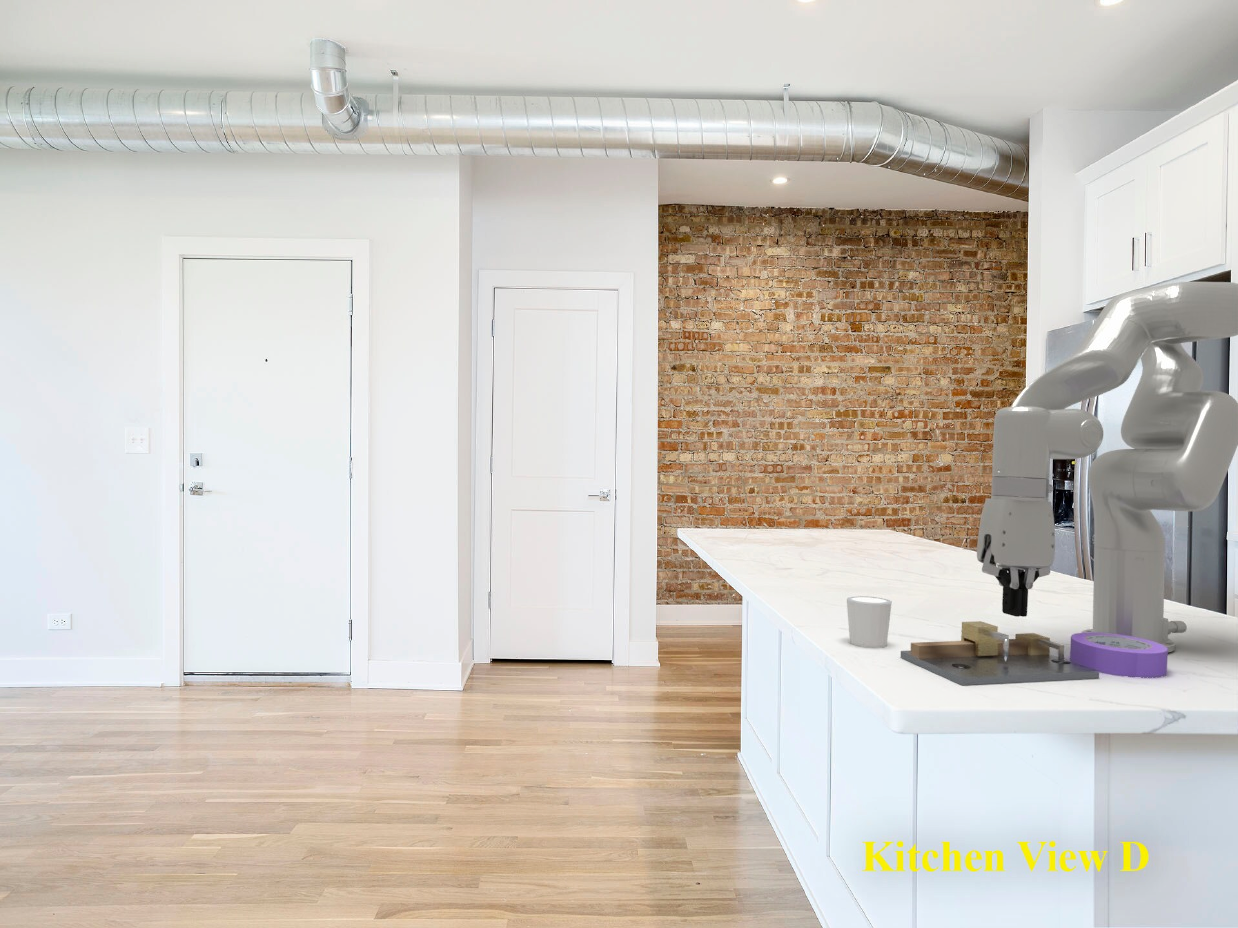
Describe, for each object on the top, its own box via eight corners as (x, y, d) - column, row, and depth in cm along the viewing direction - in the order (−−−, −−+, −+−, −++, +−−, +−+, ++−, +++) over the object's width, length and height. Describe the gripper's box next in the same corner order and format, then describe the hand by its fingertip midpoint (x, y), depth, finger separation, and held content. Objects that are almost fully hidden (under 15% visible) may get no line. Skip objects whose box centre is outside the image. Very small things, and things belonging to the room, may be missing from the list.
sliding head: (979, 648, 113) (980, 621, 113) (1017, 662, 106) (1018, 632, 106) (960, 649, 113) (961, 621, 113) (997, 663, 105) (997, 633, 105)
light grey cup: (894, 649, 117) (895, 604, 117) (847, 646, 118) (848, 602, 118) (887, 639, 124) (888, 596, 124) (843, 637, 125) (844, 594, 125)
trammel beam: (1033, 648, 115) (1033, 633, 115) (1072, 661, 108) (1072, 644, 107) (908, 653, 110) (908, 637, 110) (940, 667, 103) (940, 650, 103)
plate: (1023, 652, 117) (1023, 645, 117) (1098, 678, 103) (1099, 670, 103) (900, 657, 112) (900, 650, 112) (962, 685, 99) (962, 677, 99)
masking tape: (1188, 678, 105) (1189, 650, 105) (1113, 680, 103) (1114, 652, 103) (1120, 656, 116) (1120, 631, 116) (1051, 658, 114) (1052, 632, 114)
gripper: (1043, 491, 117) (1038, 610, 117) (958, 487, 114) (953, 609, 114) (1083, 493, 110) (1077, 620, 110) (993, 489, 107) (987, 619, 107)
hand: (1014, 614), depth 112 cm, fingers closed
